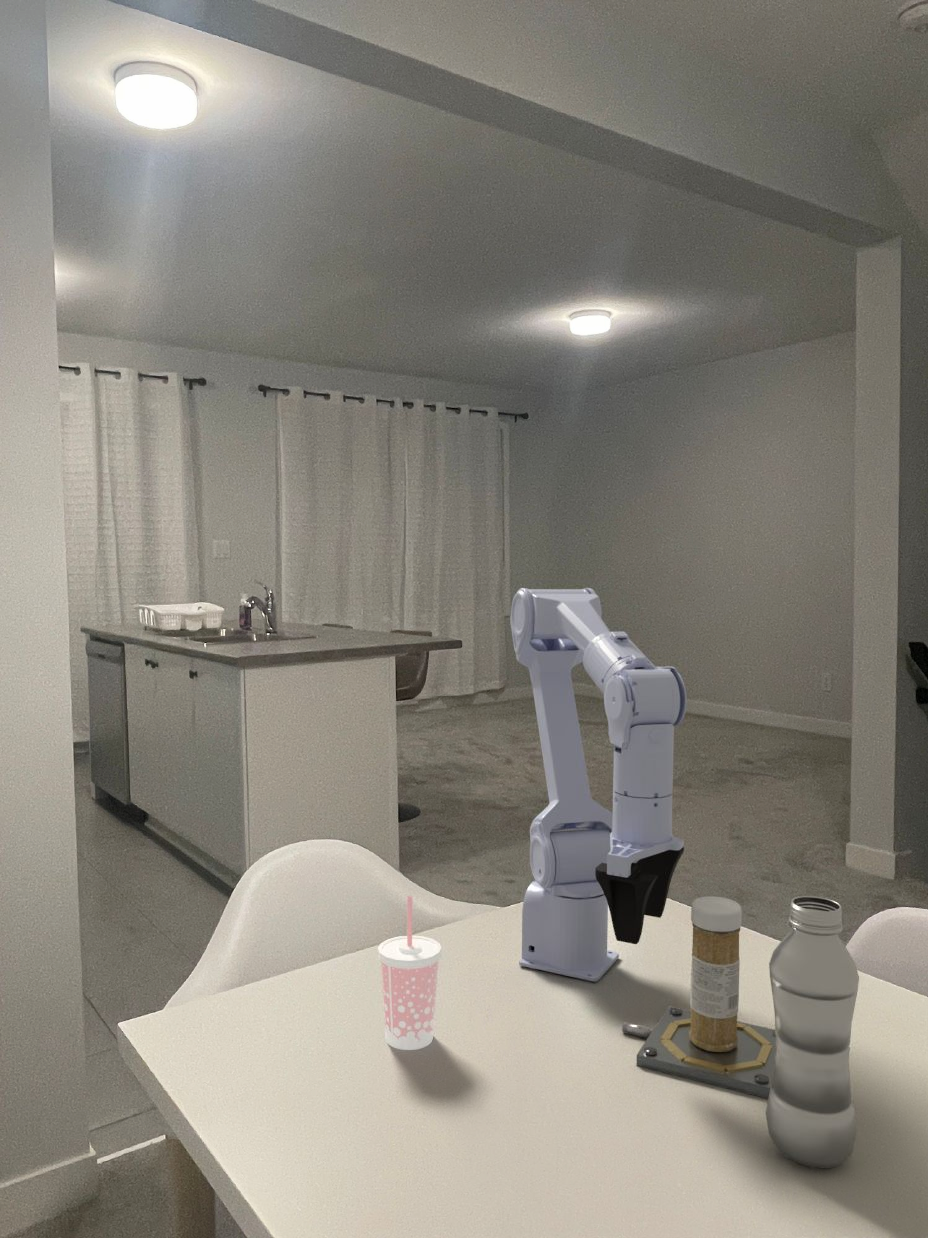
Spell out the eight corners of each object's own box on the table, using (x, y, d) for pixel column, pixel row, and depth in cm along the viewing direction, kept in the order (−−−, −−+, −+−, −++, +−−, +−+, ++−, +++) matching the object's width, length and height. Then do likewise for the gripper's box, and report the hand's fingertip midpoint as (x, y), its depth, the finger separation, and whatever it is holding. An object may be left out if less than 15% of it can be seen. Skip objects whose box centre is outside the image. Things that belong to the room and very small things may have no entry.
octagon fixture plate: (605, 1057, 90) (605, 1045, 90) (640, 1009, 100) (640, 998, 100) (771, 1099, 83) (771, 1086, 83) (791, 1043, 93) (791, 1031, 93)
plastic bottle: (847, 1192, 71) (855, 926, 70) (754, 1161, 75) (761, 908, 73) (862, 1147, 76) (870, 900, 75) (775, 1120, 80) (782, 884, 79)
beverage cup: (454, 1037, 94) (454, 896, 93) (408, 1061, 89) (408, 913, 88) (410, 1017, 98) (410, 881, 97) (364, 1038, 93) (364, 896, 92)
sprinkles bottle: (710, 1026, 94) (714, 891, 93) (748, 1046, 90) (752, 905, 89) (678, 1039, 91) (681, 900, 91) (715, 1060, 88) (719, 915, 87)
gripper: (661, 813, 86) (658, 963, 86) (702, 781, 98) (699, 911, 99) (586, 803, 89) (584, 947, 90) (635, 773, 102) (632, 899, 102)
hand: (639, 928), depth 95 cm, fingers open, 7 cm apart
